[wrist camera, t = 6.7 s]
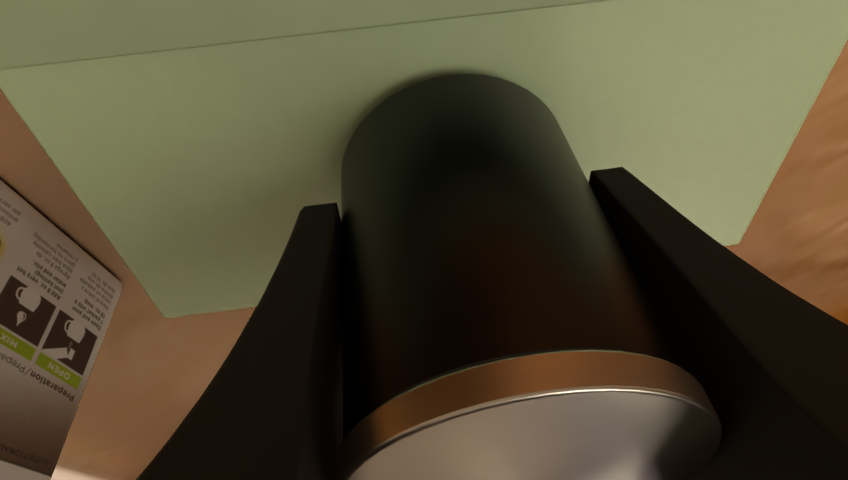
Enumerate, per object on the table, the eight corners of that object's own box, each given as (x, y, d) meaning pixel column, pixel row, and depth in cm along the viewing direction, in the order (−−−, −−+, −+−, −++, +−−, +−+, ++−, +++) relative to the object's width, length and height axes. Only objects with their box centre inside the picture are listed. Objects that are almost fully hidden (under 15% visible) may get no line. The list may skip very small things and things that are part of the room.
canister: (554, 239, 13) (664, 517, 9) (356, 264, 13) (366, 561, 9) (584, 51, 10) (796, 359, 5) (313, 83, 10) (291, 430, 5)
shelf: (666, 144, 18) (772, 289, 14) (196, 201, 18) (149, 372, 13) (774, -191, 12) (1040, -119, 7) (36, -115, 11) (-161, 12, 7)
